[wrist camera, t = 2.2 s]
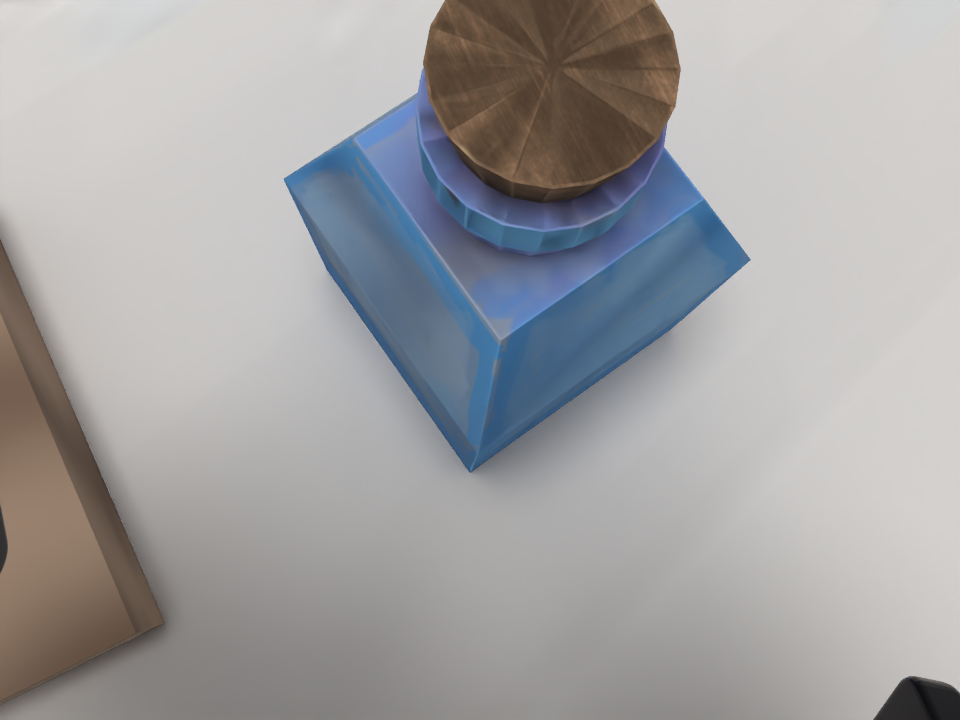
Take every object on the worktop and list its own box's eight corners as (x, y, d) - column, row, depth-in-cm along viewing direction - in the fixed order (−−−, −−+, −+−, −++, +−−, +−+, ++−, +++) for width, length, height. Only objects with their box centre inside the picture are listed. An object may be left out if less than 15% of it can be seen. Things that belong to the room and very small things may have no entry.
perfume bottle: (671, 328, 23) (904, 127, 11) (470, 472, 22) (494, 416, 11) (526, 137, 24) (603, -240, 12) (327, 269, 23) (200, 5, 11)
